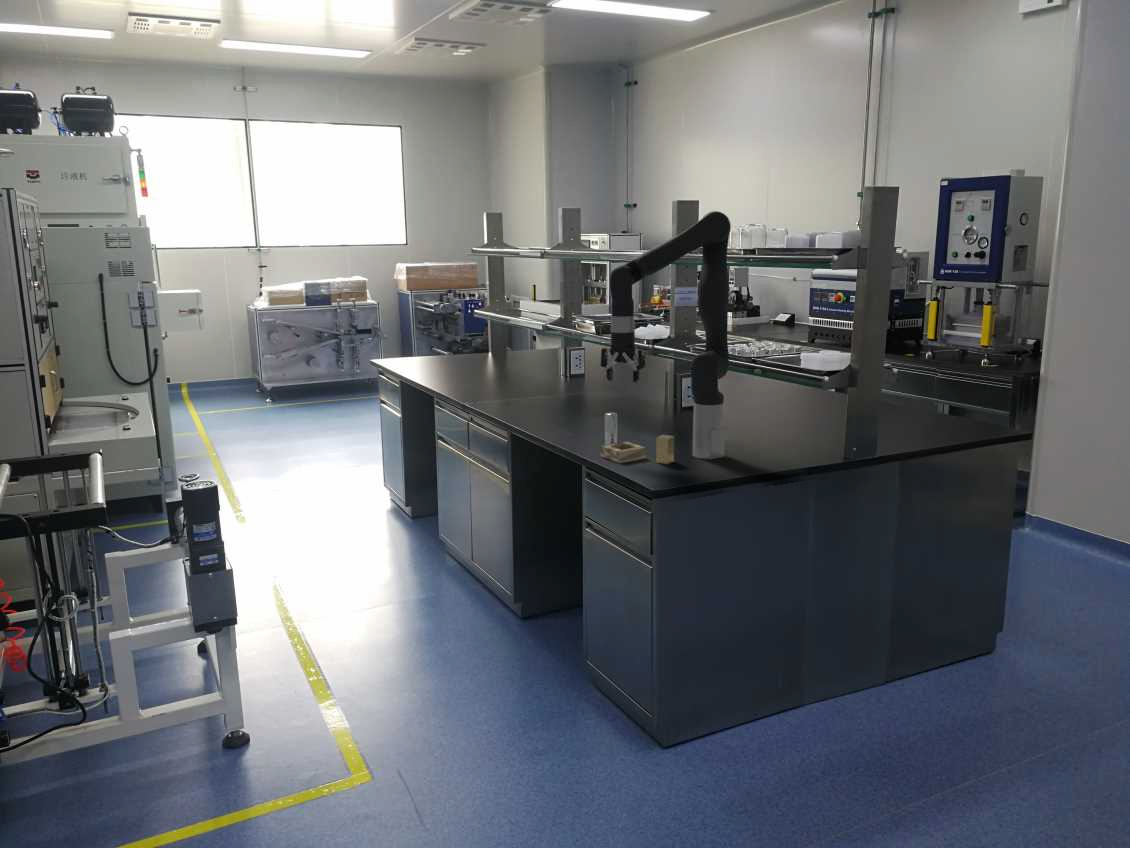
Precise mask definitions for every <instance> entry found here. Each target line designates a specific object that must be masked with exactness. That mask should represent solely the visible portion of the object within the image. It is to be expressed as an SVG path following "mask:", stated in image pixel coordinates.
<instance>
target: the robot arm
mask: <svg viewBox="0 0 1130 848" xmlns="http://www.w3.org/2000/svg"><path fill="white" fill-rule="evenodd" d="M731 224H732V223H731V221H730V219H729V217H728V216H727V215H726V214H725V213H723V212H721V211H716V210H713V211H709V212H707V213H706V214H704V215H703V217H702V218H701V219H699V220H698V221H696V223H695V224H693V225H692V226H690V227H689V228H687V229H686V230H684V231H682V232H681V233H679V234H678V235H676V236H674V237H672V238H669V239H668V240H665V241H663V242H662V243H659V244H658V245H655V246H654V247H652V248H650V249H648V250H646V251H645V252H643V253H641V254H639V255H638V256H637V257H636V258H633V259H632V260H630V261H628V262H626V263H624V264H622V265H619V266H616V267H615V268H613V270H612V271H611V273H610V275H609V287H610V294H611V295H610V296H611V316H610V317H611V318H610V319H611V320H610V348H608V347H603V348H601V352H600V366H601V368H605V369H606V379H607V381H608V382H612V381H613V380H614V369H613V367H614V365H615V364H616V363H623V364H627V363H628V365H629V366H630V367H631V368H632V369H633V371H632V382H633V383H638V381H639V380H640V371H641V370H642V369H645V368H646V355H645V349H636V348H635V344H636V338H635V337H636V333H635V331H636V323H635V304H634V302H635V301H634V298H633V285H634V284H636V283H639V282H640V281H641V280H643V279H645V278H647V277H649V276H652V275H654V274H656V273H657V272H659V271H661V270H663V269H664V268H666V267H668V266H670V265H671V264H673V263H674V262H677V260H679V259H681V258H682V257H684V256H686V255H688V254H689V253H691V252H693V251H696V250H698V249H700V248H702V262H701V268H700V273H699V280H698V289H697V292H698V293H697V308H698V309H697V311H698V314H699V317H700V320H701V322H702V325H703V328H704V332H705V333H704V334H705V350H704V352H700V353H699V354H696V355H695V357H694V358H693V360H692V361H691V367H690V377H691V378H690V381H691V383H690V385H691V394H692V396H693V418H692V420H693V422H692V456H693V457H694V458H696V459H697V458H698V459H703V460H715V459H720V458H724V457H725V445H726V442H725V441H726V428H725V426H724V405H725V404H724V402H725V401H724V398H725V396H724V394H723V392H721V391H720V390H719V380H720V379H722V378H724V377H725V376H726V375H727V373H728V371H729V367H730V355H729V344H728V341H729V340H728V327H729V325H728V324H729V323H728V316H729V299H730V298H729V294H730V293H729V292H730V289H729V285H730V284H729V272H728V261H727V260H728V259H727V258H728V246H729V240H730V239H729V238H730V233H731V228H732V226H731ZM610 354H611V356H612V357H611V358H610V360H609V362H608V355H610ZM635 355H636V356H637V360H638V362H637V360H636V358H635V357H634V356H635Z"/></svg>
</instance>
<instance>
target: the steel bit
mask: <svg viewBox="0 0 1130 848" xmlns="http://www.w3.org/2000/svg"><path fill="white" fill-rule="evenodd" d="M614 443H618V413H617V412H605V413H604V445H608V444H614Z"/></svg>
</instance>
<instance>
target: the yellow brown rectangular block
mask: <svg viewBox="0 0 1130 848" xmlns="http://www.w3.org/2000/svg"><path fill="white" fill-rule="evenodd" d="M655 445H656V446H655V447H656V449H655V450H656V451H655V452H656V454H655V455H656V456H655V463H658V464H664V465H670V464H672V463H673V462H675V459H674V458H675V436H674V435H668V434H667V435H666V434H661V435H659V436H656V444H655Z"/></svg>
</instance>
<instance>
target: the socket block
mask: <svg viewBox="0 0 1130 848" xmlns="http://www.w3.org/2000/svg"><path fill="white" fill-rule="evenodd" d="M600 457H601V458H603V457H604V459H607V460H610V461H613V462H616V463H619V464H623V463H628V462H633V461H637V460H642V459H646V447H645V446H643V445H639V444H636V443H632V442H628V441H627V440H626V441H625V440H624V441H620V442H617V443H614V444H608V445H605V444H604V445H600Z"/></svg>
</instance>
